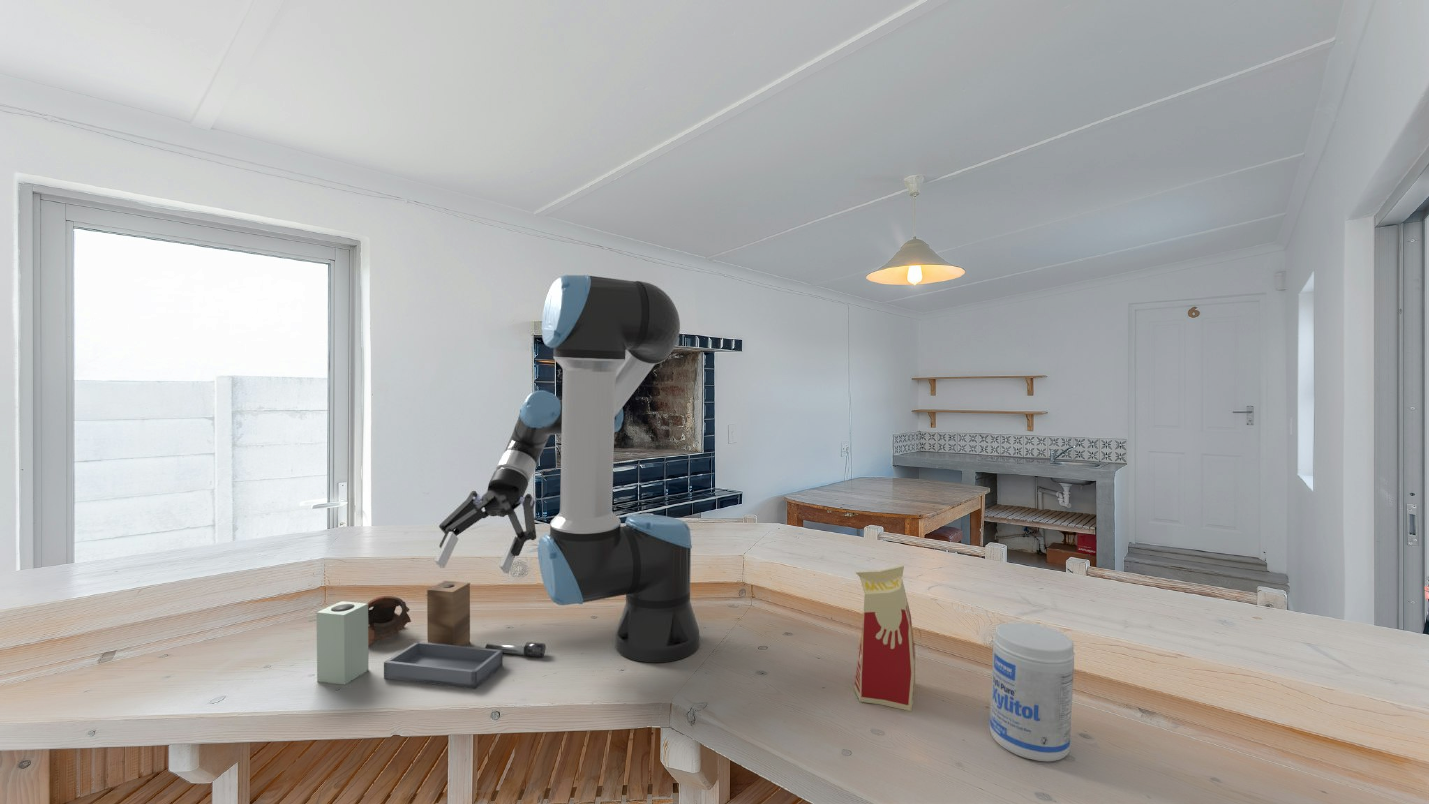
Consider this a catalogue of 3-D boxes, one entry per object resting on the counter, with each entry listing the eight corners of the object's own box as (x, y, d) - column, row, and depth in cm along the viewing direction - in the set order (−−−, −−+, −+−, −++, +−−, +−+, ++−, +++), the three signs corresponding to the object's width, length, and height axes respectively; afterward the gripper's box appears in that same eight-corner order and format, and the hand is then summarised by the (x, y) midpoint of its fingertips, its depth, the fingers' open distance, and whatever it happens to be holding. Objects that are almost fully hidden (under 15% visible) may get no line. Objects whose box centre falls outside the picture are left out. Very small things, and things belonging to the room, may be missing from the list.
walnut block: (470, 642, 111) (469, 582, 111) (453, 654, 106) (453, 591, 106) (445, 640, 112) (445, 580, 112) (427, 651, 107) (427, 589, 107)
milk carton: (915, 683, 98) (917, 559, 97) (914, 712, 89) (916, 576, 88) (857, 673, 101) (859, 553, 100) (850, 701, 92) (852, 569, 91)
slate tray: (502, 665, 102) (502, 650, 102) (474, 688, 94) (474, 672, 94) (417, 656, 105) (417, 641, 105) (383, 678, 98) (383, 662, 97)
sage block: (368, 670, 100) (368, 603, 100) (344, 684, 95) (344, 614, 95) (342, 667, 101) (341, 600, 101) (317, 681, 96) (316, 612, 96)
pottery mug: (419, 626, 120) (421, 597, 116) (393, 667, 111) (393, 637, 108) (358, 610, 119) (358, 580, 115) (327, 650, 111) (325, 620, 107)
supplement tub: (980, 744, 81) (983, 635, 81) (1000, 715, 88) (1003, 614, 88) (1062, 775, 75) (1066, 657, 75) (1077, 741, 82) (1081, 633, 82)
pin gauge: (545, 653, 107) (545, 641, 107) (539, 659, 105) (539, 646, 105) (490, 648, 109) (490, 636, 109) (483, 653, 107) (483, 641, 107)
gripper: (571, 489, 131) (538, 581, 117) (467, 484, 136) (422, 572, 122) (560, 468, 126) (524, 562, 112) (452, 464, 131) (403, 553, 117)
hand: (471, 567), depth 117 cm, fingers open, 13 cm apart
